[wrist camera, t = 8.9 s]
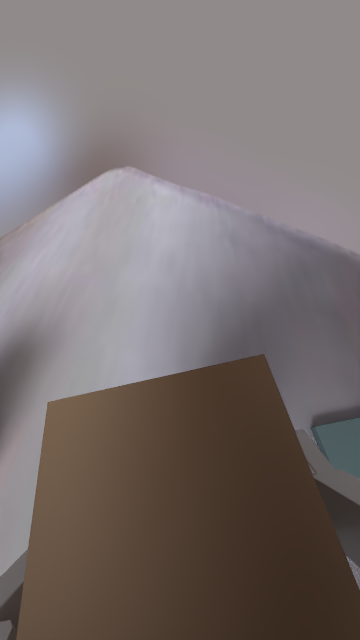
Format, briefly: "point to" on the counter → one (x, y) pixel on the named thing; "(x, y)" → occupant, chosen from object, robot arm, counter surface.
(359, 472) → the socket plate
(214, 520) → the walnut block
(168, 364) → the counter surface
